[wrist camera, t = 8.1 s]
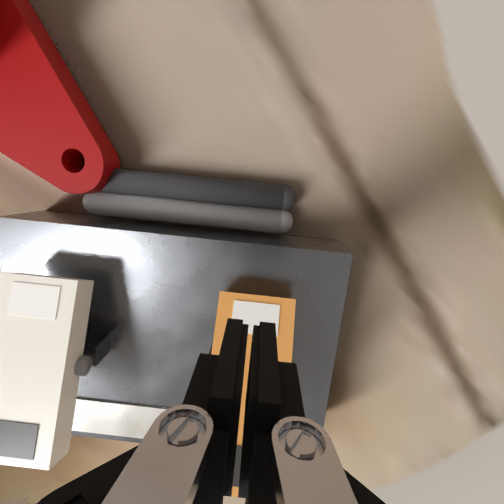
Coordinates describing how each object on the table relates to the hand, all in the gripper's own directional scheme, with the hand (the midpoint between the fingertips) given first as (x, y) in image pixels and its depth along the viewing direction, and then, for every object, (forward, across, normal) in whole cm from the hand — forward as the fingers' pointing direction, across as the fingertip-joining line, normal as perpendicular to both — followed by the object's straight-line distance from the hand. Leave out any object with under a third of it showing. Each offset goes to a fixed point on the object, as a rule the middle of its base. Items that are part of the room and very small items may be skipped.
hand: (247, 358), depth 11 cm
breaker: (+5, +11, +5) cm, 13 cm away
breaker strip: (+11, +5, +5) cm, 13 cm away
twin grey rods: (+12, +5, -5) cm, 13 cm away
